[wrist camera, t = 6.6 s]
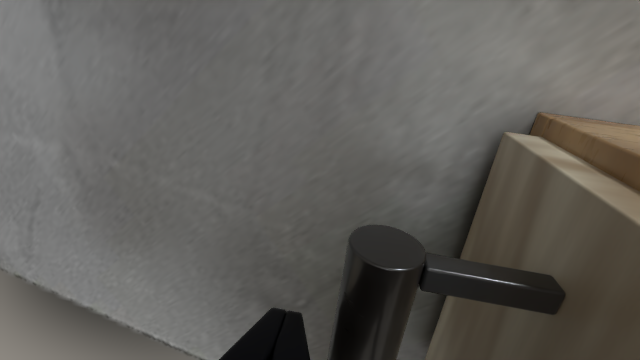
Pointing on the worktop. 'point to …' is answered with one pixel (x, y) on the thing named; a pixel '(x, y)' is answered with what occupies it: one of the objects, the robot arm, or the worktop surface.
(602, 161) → the cabinet
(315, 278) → the worktop surface
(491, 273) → the drawer
